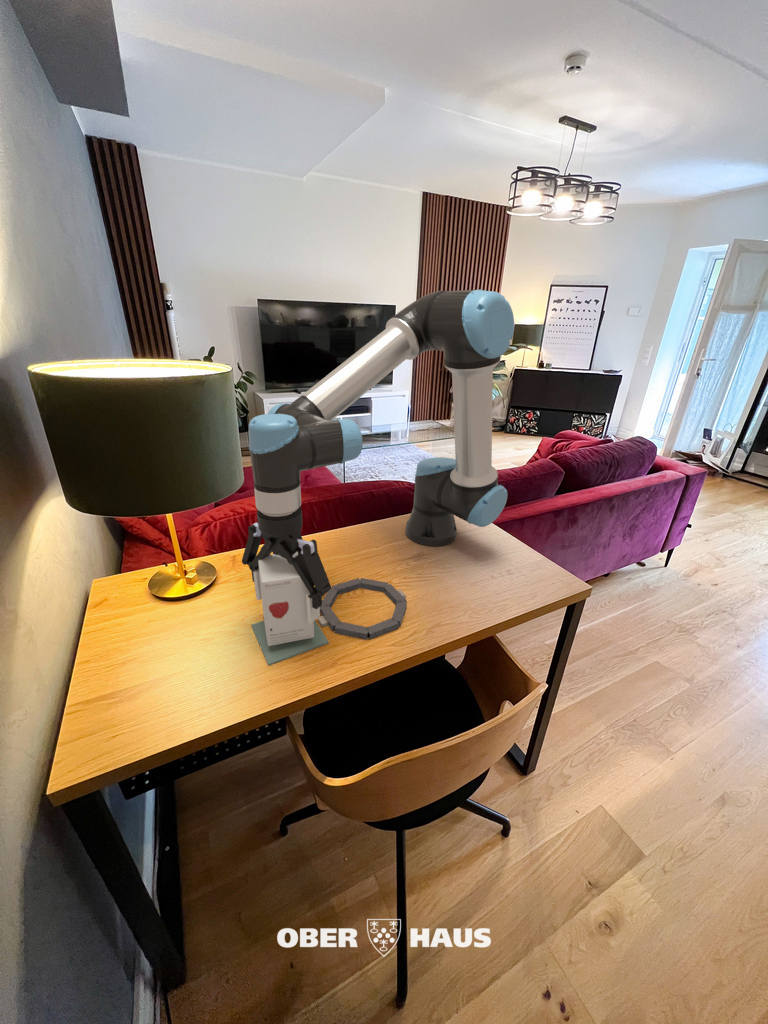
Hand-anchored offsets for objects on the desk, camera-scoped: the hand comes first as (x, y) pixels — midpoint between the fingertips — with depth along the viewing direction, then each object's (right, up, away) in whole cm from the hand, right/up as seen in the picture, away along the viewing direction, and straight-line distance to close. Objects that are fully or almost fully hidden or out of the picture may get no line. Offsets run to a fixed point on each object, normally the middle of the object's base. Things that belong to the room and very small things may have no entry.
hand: (287, 607), depth 79 cm
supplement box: (0, -5, +2) cm, 5 cm away
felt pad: (0, -6, +3) cm, 7 cm away
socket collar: (+14, -3, +11) cm, 18 cm away
